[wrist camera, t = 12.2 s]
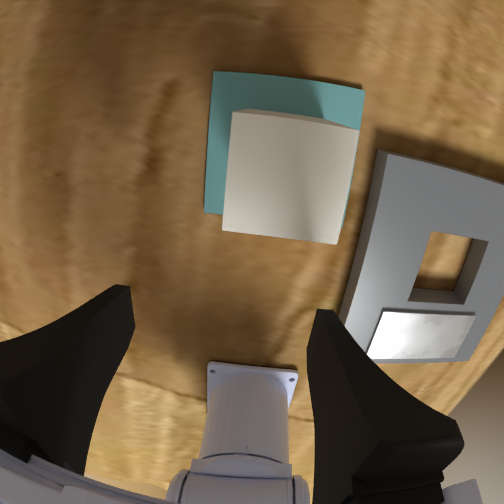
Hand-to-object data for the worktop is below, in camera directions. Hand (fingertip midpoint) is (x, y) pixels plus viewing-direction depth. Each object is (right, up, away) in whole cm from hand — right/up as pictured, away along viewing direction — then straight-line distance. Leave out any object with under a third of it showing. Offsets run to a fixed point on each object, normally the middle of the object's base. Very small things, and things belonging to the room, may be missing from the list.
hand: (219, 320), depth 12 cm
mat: (+3, +9, +7) cm, 12 cm away
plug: (+3, +9, +7) cm, 11 cm away
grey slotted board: (+15, +1, +10) cm, 18 cm away
